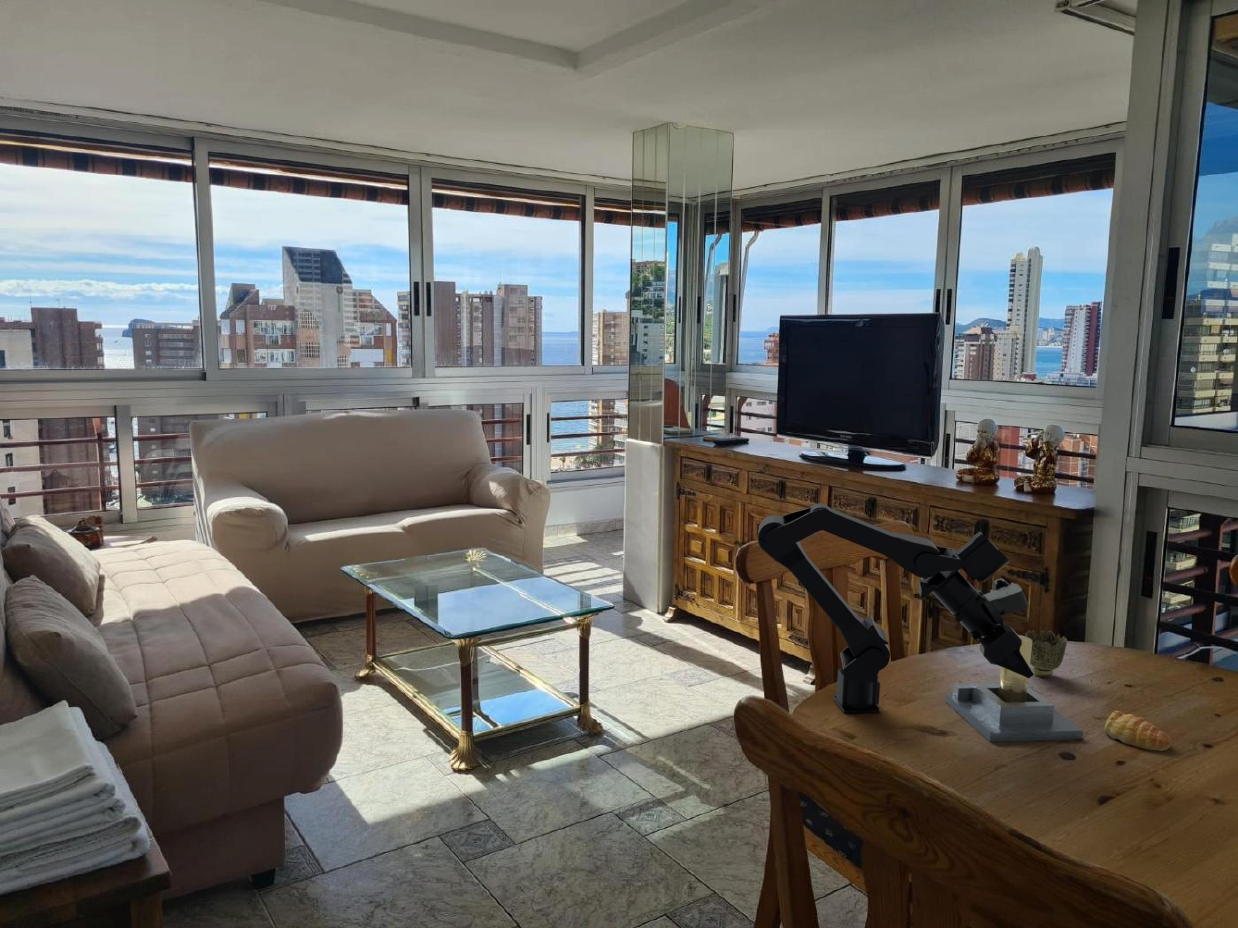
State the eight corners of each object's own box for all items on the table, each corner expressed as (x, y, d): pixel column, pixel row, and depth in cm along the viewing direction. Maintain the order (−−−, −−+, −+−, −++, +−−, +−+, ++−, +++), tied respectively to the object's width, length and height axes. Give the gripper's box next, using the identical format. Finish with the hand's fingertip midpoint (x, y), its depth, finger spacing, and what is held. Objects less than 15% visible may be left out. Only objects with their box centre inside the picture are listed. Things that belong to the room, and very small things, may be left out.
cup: (1055, 669, 180) (1059, 630, 179) (1069, 683, 173) (1073, 643, 171) (1016, 666, 181) (1019, 628, 179) (1029, 681, 173) (1033, 641, 172)
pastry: (1177, 746, 148) (1179, 724, 147) (1160, 758, 144) (1163, 735, 143) (1116, 725, 155) (1119, 704, 155) (1099, 736, 151) (1101, 715, 150)
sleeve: (1015, 718, 153) (1022, 645, 151) (992, 709, 157) (998, 637, 155) (1030, 712, 156) (1037, 640, 154) (1006, 703, 159) (1013, 632, 157)
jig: (989, 741, 148) (991, 715, 147) (945, 701, 163) (947, 677, 163) (1082, 739, 149) (1084, 713, 149) (1029, 699, 165) (1031, 675, 164)
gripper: (1013, 584, 144) (1080, 656, 144) (987, 555, 162) (1047, 619, 162) (957, 628, 146) (1023, 699, 146) (938, 594, 165) (997, 657, 164)
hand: (1024, 666), depth 155 cm, fingers open, 9 cm apart
